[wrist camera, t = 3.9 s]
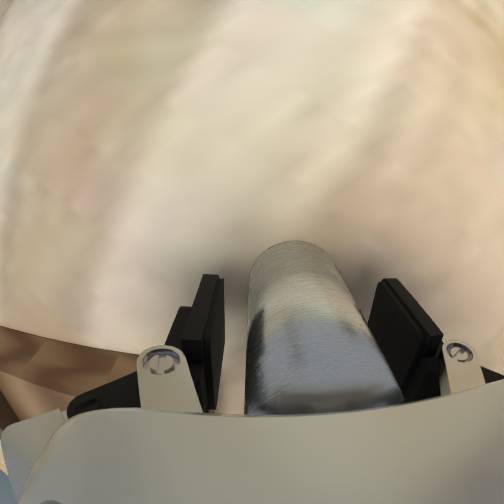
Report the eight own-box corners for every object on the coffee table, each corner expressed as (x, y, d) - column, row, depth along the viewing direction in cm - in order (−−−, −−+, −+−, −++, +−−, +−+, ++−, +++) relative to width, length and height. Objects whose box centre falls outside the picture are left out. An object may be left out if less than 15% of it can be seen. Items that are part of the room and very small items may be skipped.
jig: (209, 362, 15) (193, 455, 10) (220, 472, 20) (215, 530, 15) (0, 325, 15) (-45, 374, 10) (61, 438, 20) (41, 482, 15)
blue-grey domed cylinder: (341, 242, 13) (428, 366, 5) (329, 319, 14) (375, 458, 7) (250, 238, 13) (244, 377, 5) (248, 318, 14) (242, 468, 7)
